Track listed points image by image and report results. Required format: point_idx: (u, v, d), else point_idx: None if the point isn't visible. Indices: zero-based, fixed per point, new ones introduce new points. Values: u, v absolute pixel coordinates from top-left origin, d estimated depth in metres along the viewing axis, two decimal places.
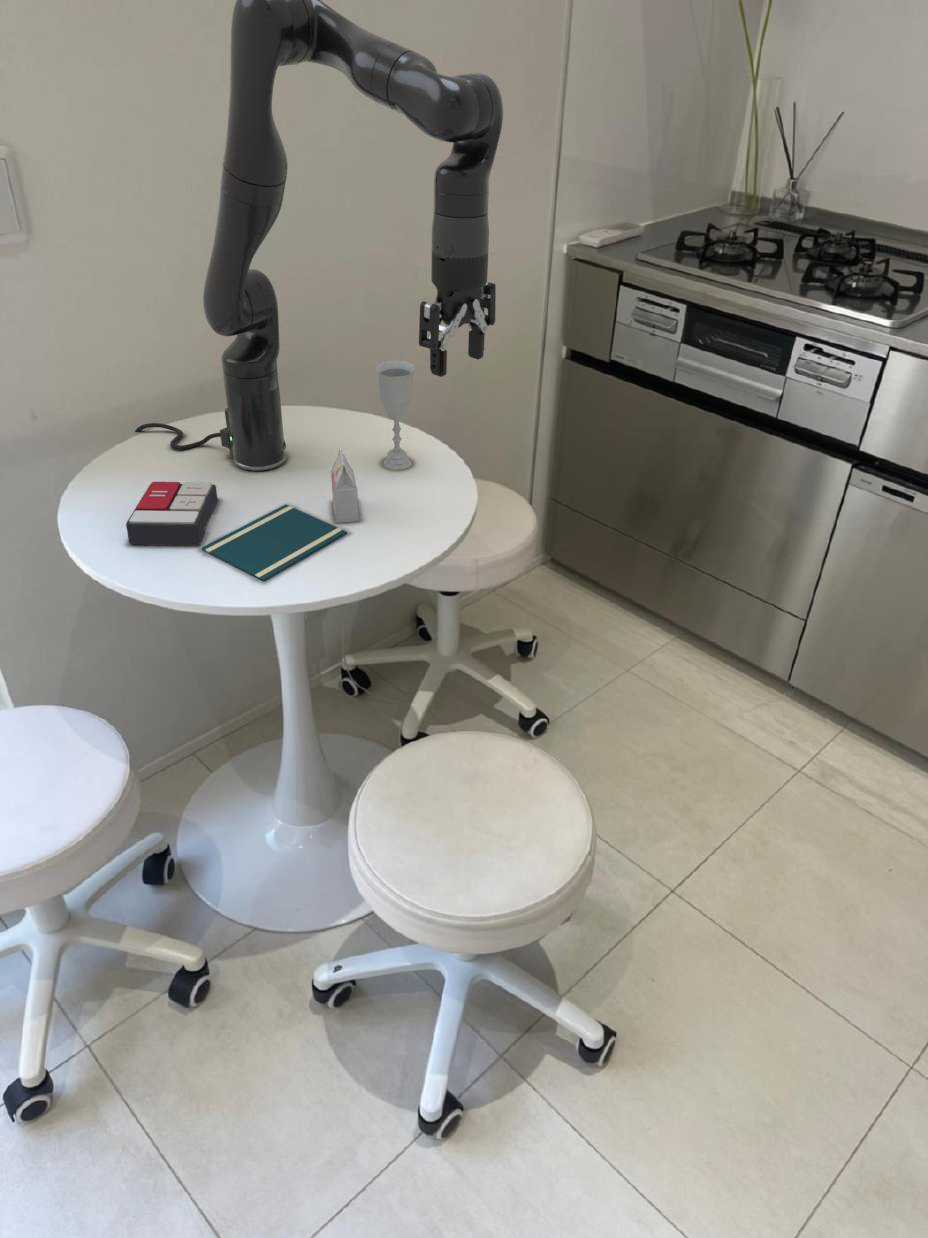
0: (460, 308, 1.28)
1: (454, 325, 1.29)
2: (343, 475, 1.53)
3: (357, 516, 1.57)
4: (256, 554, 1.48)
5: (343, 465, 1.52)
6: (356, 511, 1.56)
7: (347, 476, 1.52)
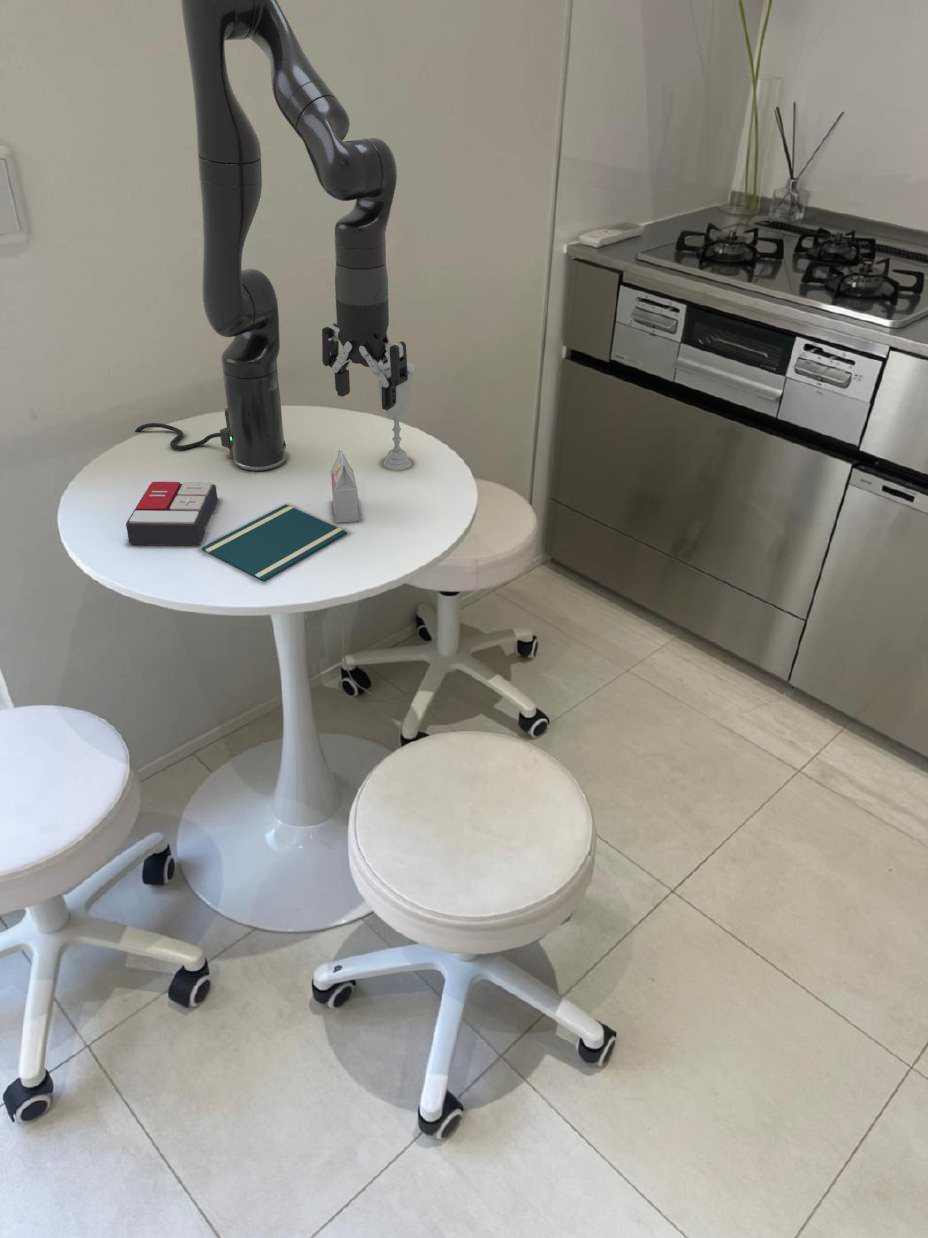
0: (345, 343, 1.40)
1: (340, 355, 1.42)
2: (343, 475, 1.53)
3: (357, 516, 1.57)
4: (256, 554, 1.48)
5: (343, 465, 1.52)
6: (356, 511, 1.56)
7: (347, 476, 1.52)
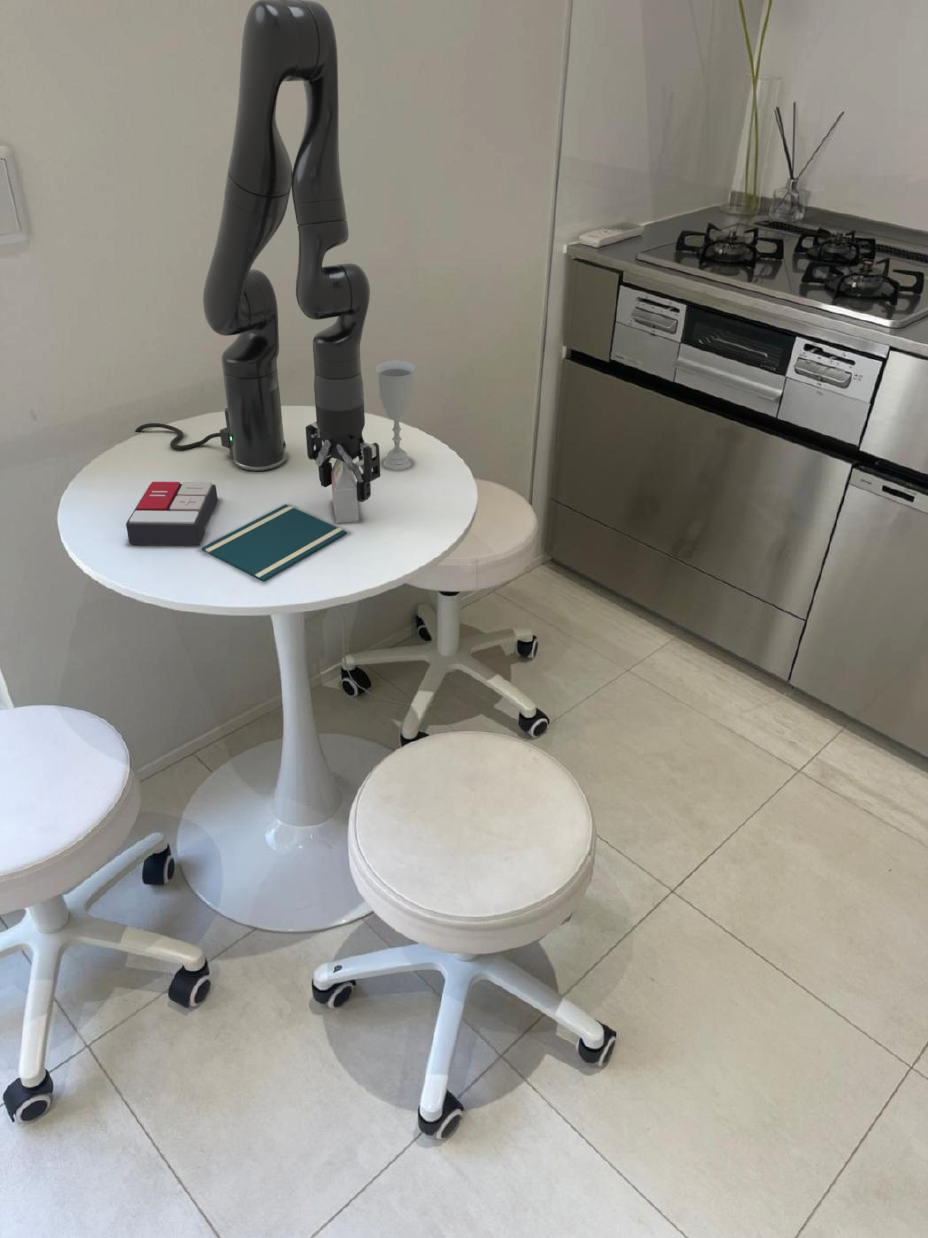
0: (325, 441, 1.52)
1: (321, 451, 1.54)
2: (343, 475, 1.53)
3: (357, 516, 1.57)
4: (256, 554, 1.48)
5: (343, 465, 1.52)
6: (356, 511, 1.56)
7: (347, 476, 1.52)
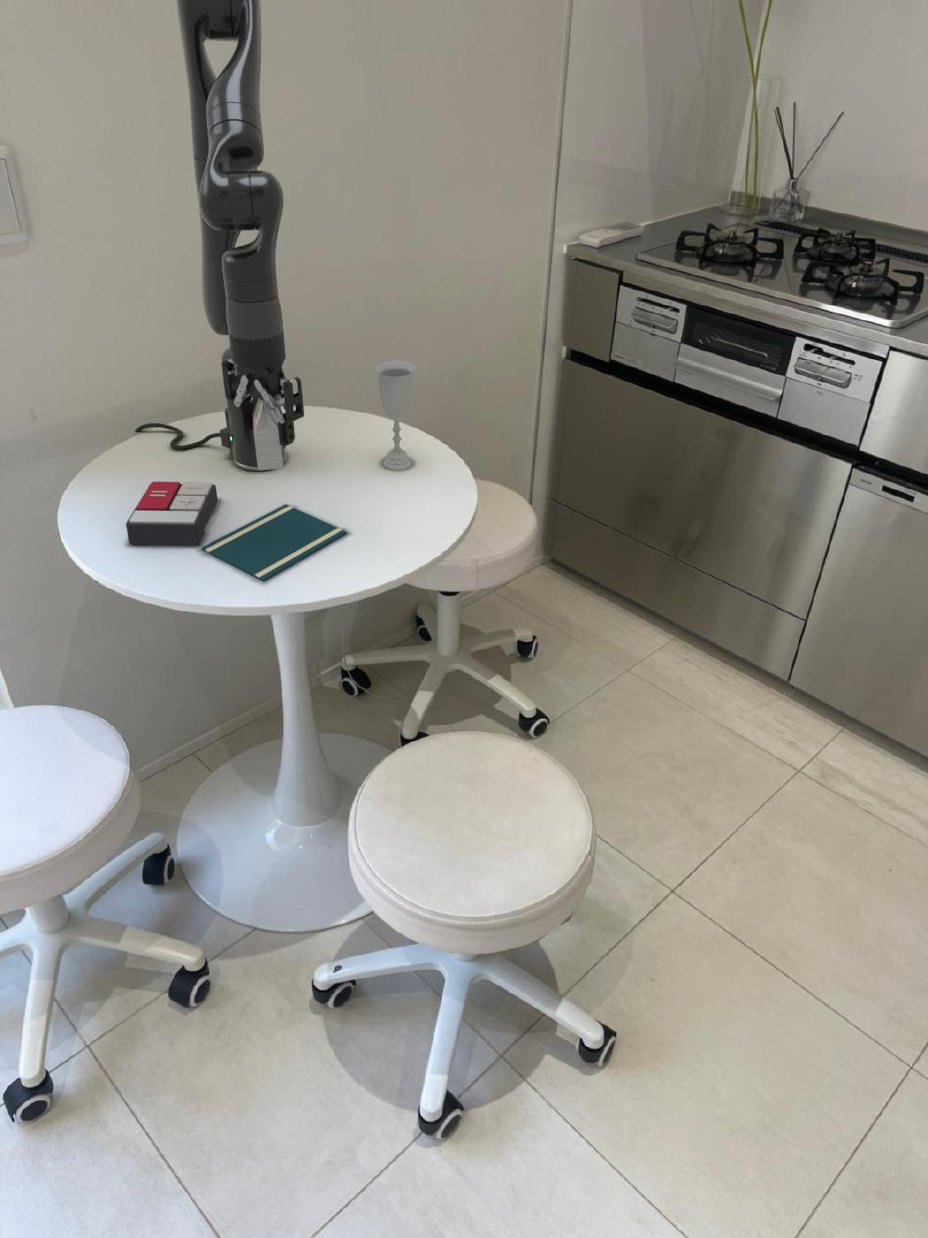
0: (242, 377, 1.36)
1: (238, 389, 1.38)
2: (264, 416, 1.37)
3: (281, 462, 1.41)
4: (256, 554, 1.48)
5: (263, 404, 1.36)
6: (280, 457, 1.41)
7: (268, 416, 1.37)
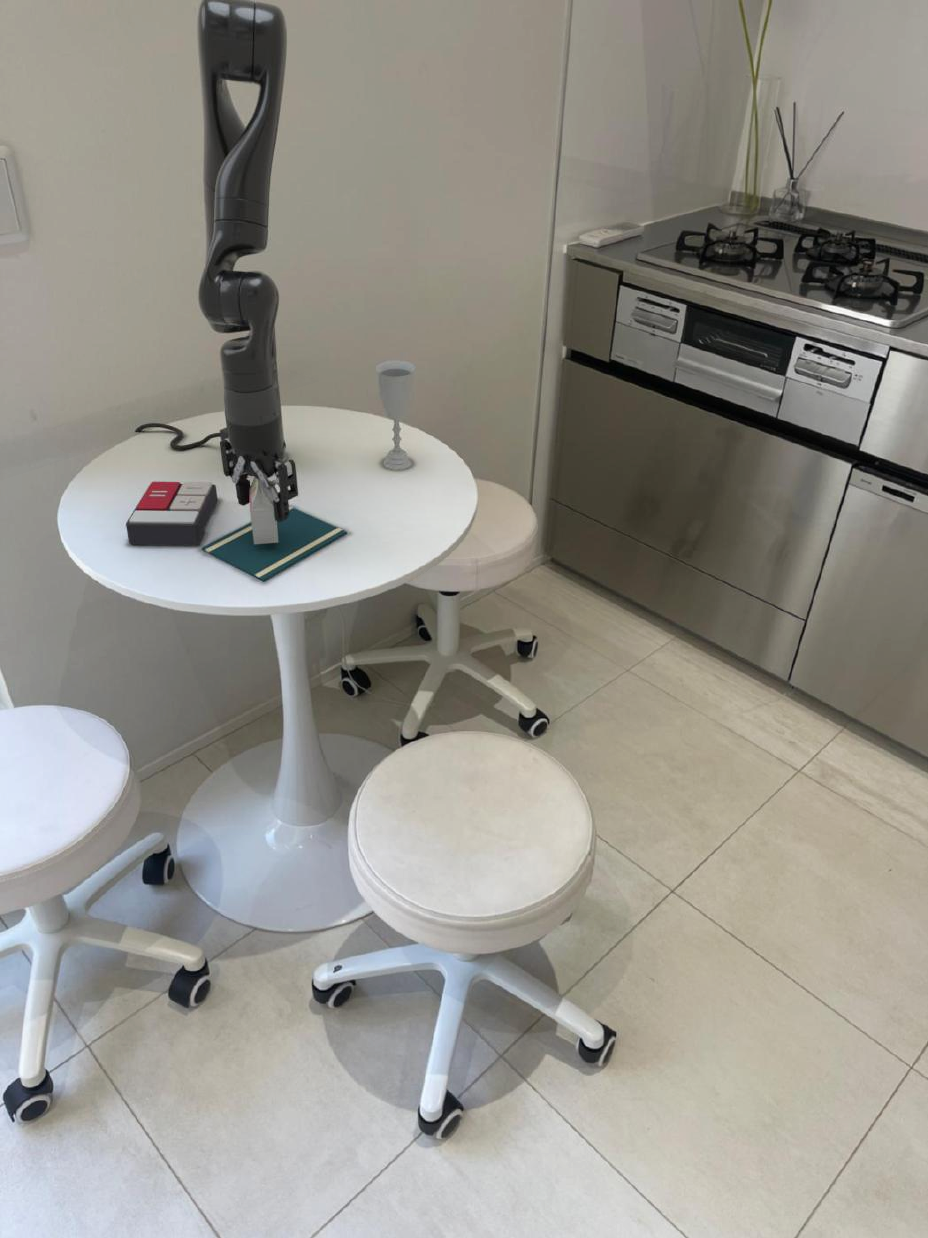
0: (239, 457, 1.42)
1: (236, 467, 1.44)
2: (259, 494, 1.43)
3: (276, 537, 1.47)
4: (256, 554, 1.48)
5: (258, 483, 1.42)
6: (275, 532, 1.47)
7: (263, 495, 1.43)
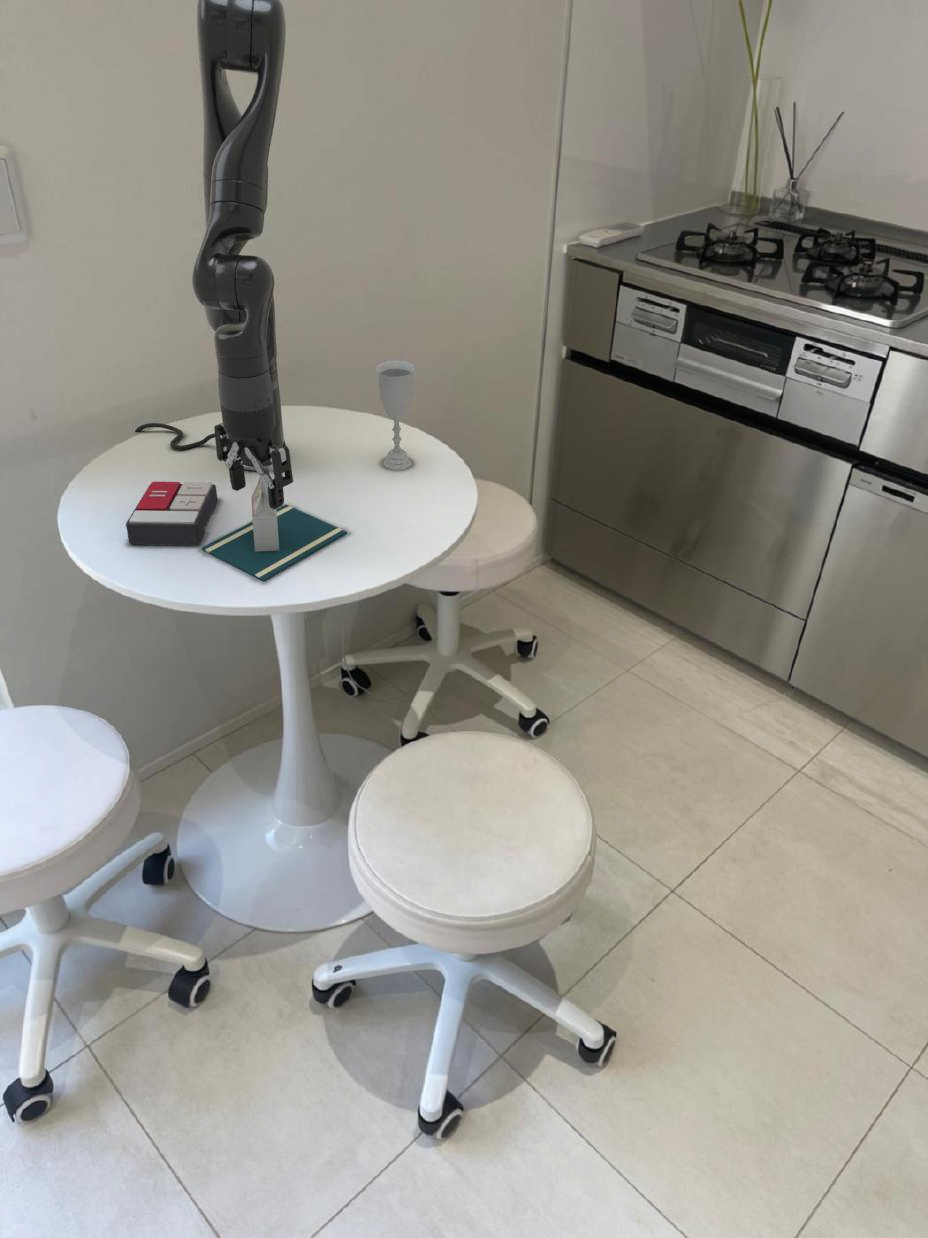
0: (233, 443, 1.41)
1: (230, 453, 1.43)
2: (262, 502, 1.44)
3: (277, 545, 1.48)
4: (256, 554, 1.48)
5: (262, 491, 1.43)
6: (276, 540, 1.47)
7: (266, 503, 1.44)
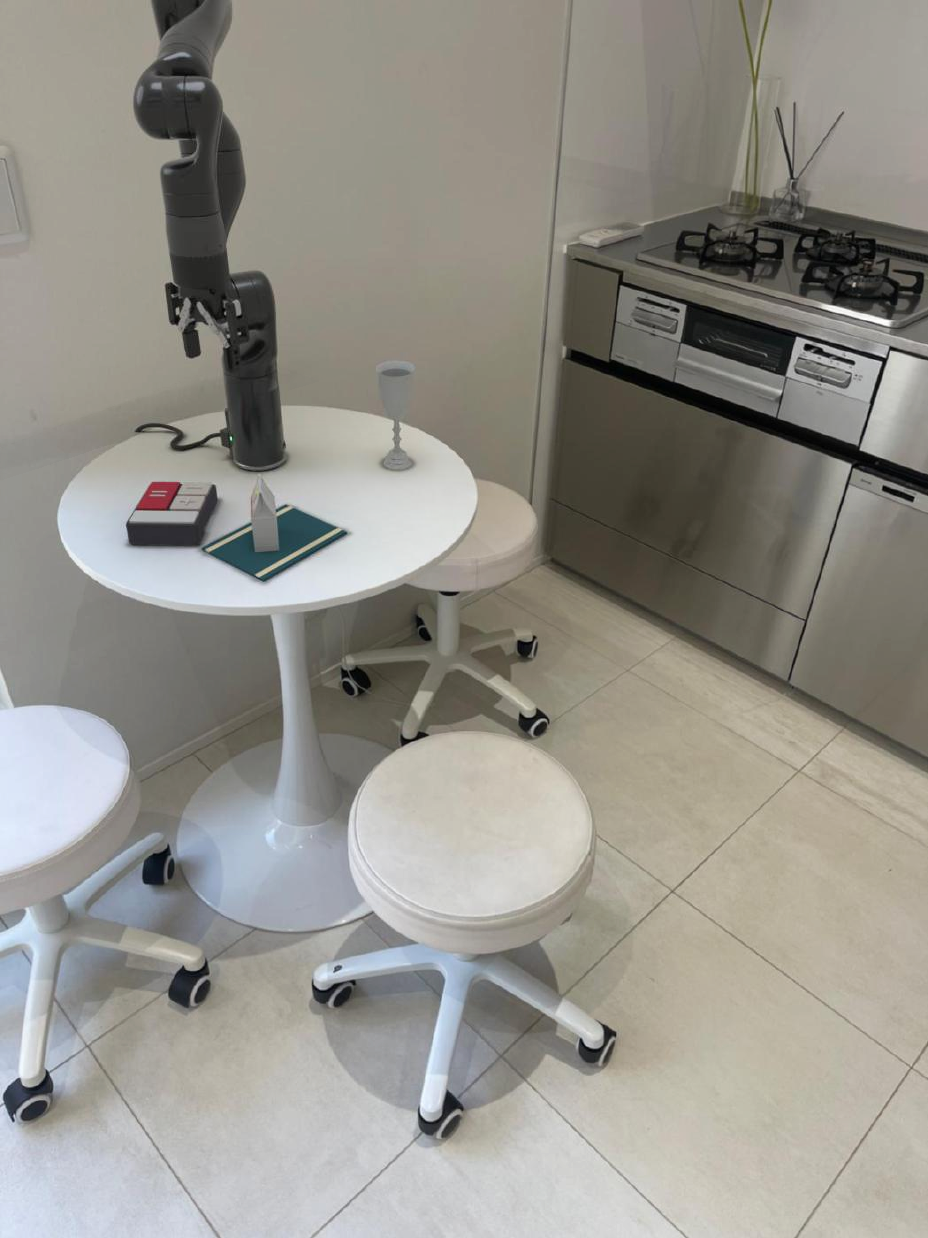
0: (185, 300, 1.32)
1: (182, 313, 1.33)
2: (260, 503, 1.44)
3: (277, 545, 1.48)
4: (256, 554, 1.48)
5: (259, 492, 1.43)
6: (276, 540, 1.47)
7: (264, 503, 1.44)
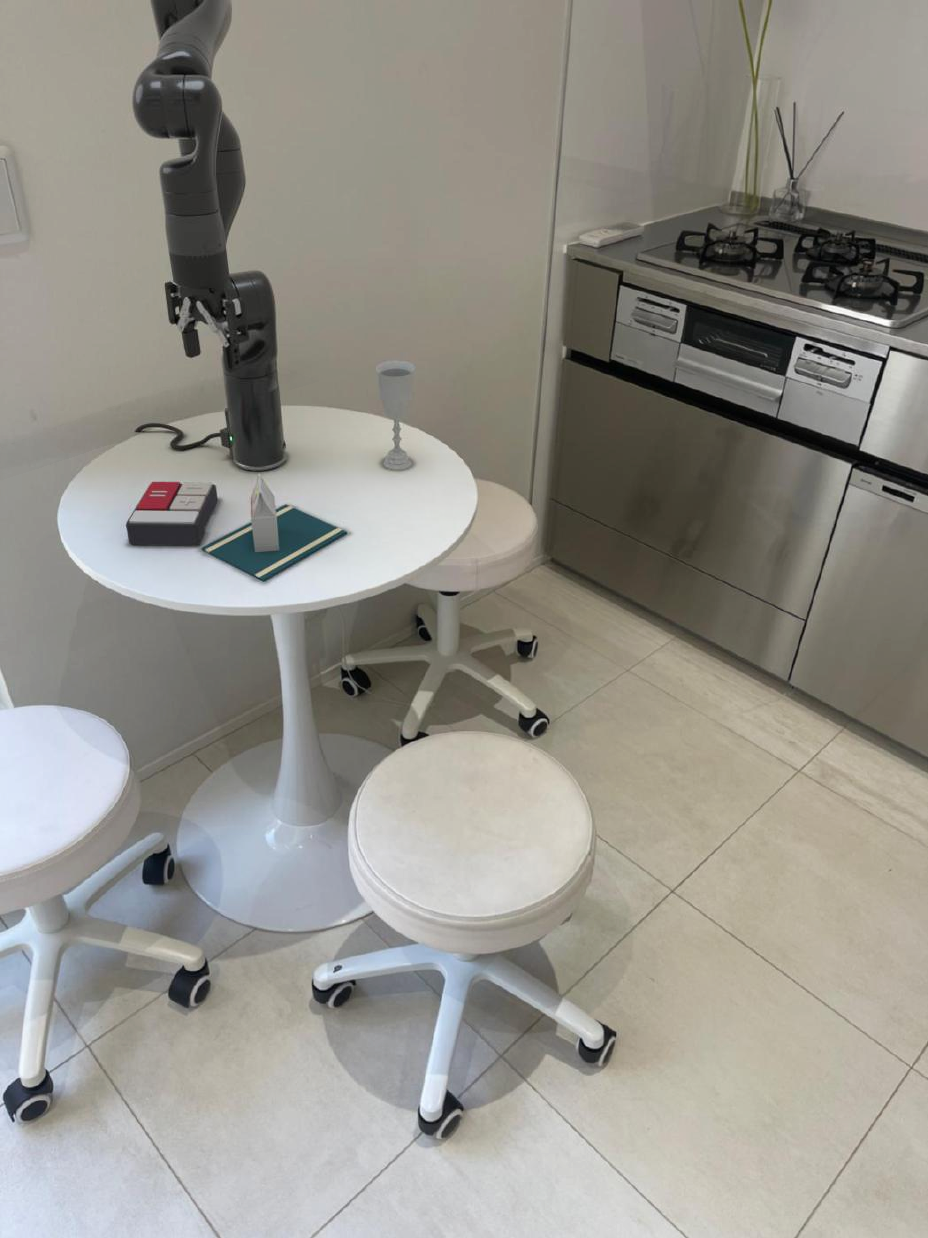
0: (185, 299, 1.31)
1: (182, 312, 1.33)
2: (260, 503, 1.44)
3: (277, 545, 1.48)
4: (256, 554, 1.48)
5: (259, 492, 1.43)
6: (276, 540, 1.47)
7: (264, 503, 1.44)
